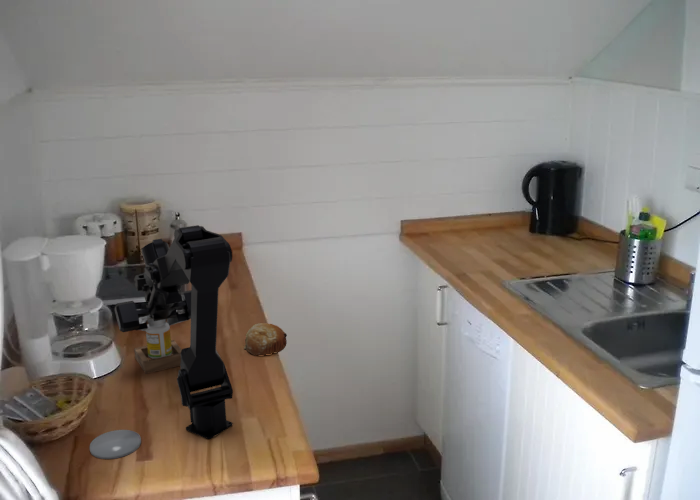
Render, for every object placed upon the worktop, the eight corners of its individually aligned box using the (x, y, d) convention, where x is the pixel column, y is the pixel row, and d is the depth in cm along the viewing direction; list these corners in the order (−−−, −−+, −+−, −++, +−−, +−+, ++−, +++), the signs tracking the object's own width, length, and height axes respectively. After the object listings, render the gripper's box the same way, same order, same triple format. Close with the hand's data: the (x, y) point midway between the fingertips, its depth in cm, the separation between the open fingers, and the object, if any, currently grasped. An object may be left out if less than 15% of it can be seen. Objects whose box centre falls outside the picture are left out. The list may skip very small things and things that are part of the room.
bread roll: (248, 355, 179) (232, 330, 176) (283, 333, 181) (268, 308, 178) (259, 371, 170) (243, 346, 167) (296, 347, 173) (281, 321, 169)
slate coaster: (151, 441, 135) (151, 438, 134) (111, 464, 127) (110, 461, 127) (119, 427, 139) (119, 424, 139) (79, 449, 132) (79, 446, 132)
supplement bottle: (168, 348, 171) (164, 309, 168) (175, 356, 166) (171, 317, 164) (145, 353, 168) (141, 314, 165) (151, 362, 164) (147, 321, 161)
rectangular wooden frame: (186, 364, 166) (185, 354, 165) (145, 373, 162) (144, 363, 161) (174, 349, 174) (173, 339, 173) (135, 358, 170) (134, 348, 169)
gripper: (197, 255, 162) (186, 288, 174) (111, 269, 153) (106, 303, 165) (211, 299, 157) (199, 330, 170) (123, 315, 149) (117, 347, 161)
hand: (156, 326), depth 166 cm, fingers closed on supplement bottle, 5 cm apart
